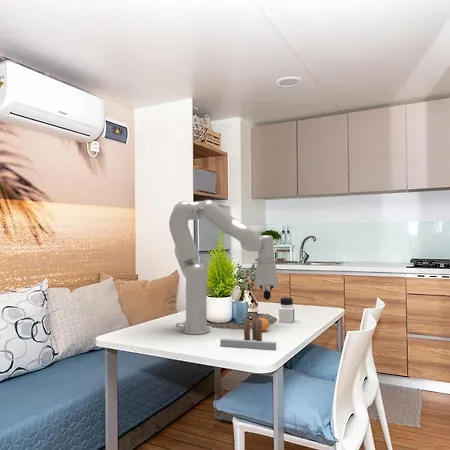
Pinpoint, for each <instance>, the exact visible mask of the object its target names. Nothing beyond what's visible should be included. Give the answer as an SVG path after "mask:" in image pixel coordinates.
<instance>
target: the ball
mask: <svg viewBox="0 0 450 450" xmlns="http://www.w3.org/2000/svg"><path fill="white" fill-rule="evenodd" d="M258 319H260V320H262V332H265V331H267V330H268V329H269V327H270V321H269V320H268V319H267V318H266V317H259V318H258Z"/></svg>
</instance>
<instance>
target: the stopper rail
mask: <svg viewBox="0 0 450 450" xmlns="http://www.w3.org/2000/svg"><path fill="white" fill-rule="evenodd" d="M219 342H220V345H219V346H220V347H227V348H240V349H241V348H242V349H253V350H254V349H255V350H256V349H257V350H267V351H269V350H270V351H276V349H277V341H266V340H265V341H263V340H262V341H256V340H251V339H250V340H244V339H232V338H231V339H230V338H221V339H220V341H219Z"/></svg>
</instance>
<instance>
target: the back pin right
mask: <svg viewBox="0 0 450 450" xmlns="http://www.w3.org/2000/svg"><path fill="white" fill-rule="evenodd" d="M255 341H263V331H262V320H260V319H259V318H258V320H256V340H255Z"/></svg>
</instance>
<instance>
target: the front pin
mask: <svg viewBox="0 0 450 450" xmlns="http://www.w3.org/2000/svg"><path fill="white" fill-rule="evenodd" d="M251 319H252V320H251V324H252V325H251V328H252V329H251V332H252V335H251V337H252V338H251V339H252V341H256V320H258V319H259V318H258V317H257V316H253V317H252V318H251Z"/></svg>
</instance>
